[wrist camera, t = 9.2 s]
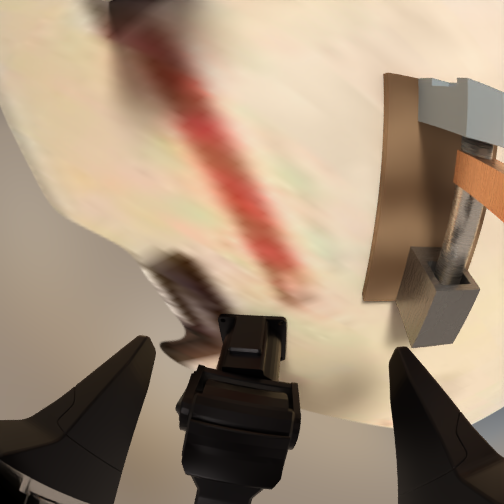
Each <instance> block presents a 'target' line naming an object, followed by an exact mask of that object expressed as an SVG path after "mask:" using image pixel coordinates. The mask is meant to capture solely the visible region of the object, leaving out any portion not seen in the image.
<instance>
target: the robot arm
mask: <svg viewBox="0 0 504 504" xmlns="http://www.w3.org/2000/svg"><path fill="white" fill-rule="evenodd" d="M218 322H219V327H220V332H221V337H222V341H223V346H222V350H221V354H220V357H219V361H218V365H217V369H211V368H207V367H205V366H203V365H199V366H198V368H197V371H194V373H193V374H191V377H190V380H189V383H188V386H187V388H186V390H185V392H184V393H183V395H182V397H181V398H180V400H179V401H178V403H177V405H176V411H177V413H178V414H179V421H180V424H179V425H180V426H179V427H180V430H184V431H186V434H185V440H184V445H183V451H182V465H183V468H184V471H185V473H186V474H187V475H190V476H191V477H192V479H193V481H194V483H195V485H196V487H197V494H196V498H195V503H194V504H251V501H252V498H253V497H254V496H256V495H257V494H258V493H259V492H261V491H262V490H263V489H272V488H274V487H275V485H276V484H277V483H278V482H279V481H280V479H281V476H282V470H283V466H284V462H285V459H286V455H287V452H288V450H292V449H293V448H294V446H295V444H296V442H297V439H298V435H299V430H300V424H301V423H300V422H301V413H300V402H299V392H298V383H293V382H291V383H286V382H279V381H278V378H279V367H280V361H283V360H284V359H285V348H286V319H285V318H284V317H275V316H251V315H233V314H221V315H219V318H218ZM155 355H156V351H155V348H154V346H153V343H152V342H151V339H150V338H149V337H148V336H142V335H139V336H137V337H136V338H135V339H134V340H132V341H131V342H130V343H128V344H127V345H126V346H125V347H123V348H122V349H121V350H120V351H118V352H117V353H116V354H115V355H113V356H112V357H111V358H110V359H108V360H107V361H106V362H105V363H103V364H102V365H101V366H100V367H98V368H97V369H96V370H95V371H93V372H92V373H91V374H90V375H88V376H87V377H86V378H85V379H83V380H82V381H81V382H80V383H78V384H77V385H76V387H73V388H72V389H71V390H70V391H68V392H67V393H66V394H64V395H63V396H62V397H61V398H59V399H58V400H56V401H55V402H53V403H52V404H50V405H49V406H47V407H46V408H44V409H43V410H41V411H39V412H38V413H36V414H35V415H33V416H31V417H29V418H27V419H22V420H0V504H114V500H115V497H116V493H117V488H118V485H119V481H120V478H121V474H122V470H123V467H124V463H125V460H126V456H127V453H128V450H129V446H130V443H131V440H132V436H133V433H134V430H135V427H136V424H137V421H138V417H139V414H140V411H141V408H142V405H143V402H144V399H145V396H146V393H147V390H148V387H149V383H150V378H151V373H152V369H153V365H154V360H155ZM389 379H390V403H391V411H392V419H393V427H394V436H395V447H396V458H397V475H398V504H504V457H502V456H501V455H499V454H498V453H497V452H496V451H495V450H494V449H493V448H492V447H491V446H490V445H489V444H488V443H487V441H486V440H485V439H484V438H483V437H482V436H481V435H480V434H479V433H478V432H477V431H476V430H475V429H474V427H473V426H472V425H471V424H470V423H469V421H468V420H467V419H466V418H465V416H464V415H463V414H462V412H460V410H459V409H458V407H457V406H456V405H455V404H454V402H453V401H452V400H451V399H450V397H449V396H448V395H447V394H446V392H445V391H444V390H443V389H442V388H441V386H440V385H439V384H438V383H437V381H436V380H435V379H434V378H433V377H432V375H431V374H430V373H429V372H428V371H427V369H426V368H425V367H424V366H423V365H422V364H421V362H420V361H419V360H418V359H417V358H416V357H415V355H414V354H413V353H412V352H411V351H410V350H409V348H407V347H397V348H396V349H395V350H394V352H393V355H392V357H391V359H390V361H389Z"/></svg>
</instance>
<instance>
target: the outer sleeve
mask: <svg viewBox="0 0 504 504" xmlns="http://www.w3.org/2000/svg"><path fill="white" fill-rule="evenodd" d="M441 248H442V247H417V246H410V250H409V254H408V258H407V262H406V266H405V269H404V273H403V277H402V280H401V284H400V287H399V290H398V294H397V297H396V300H395V301H396V304H397V306H398V309H399V312H400V315H401V317H402V320H403V323H404V326H405V329H406V332H407V335H408V338H409V342H410V345H411V348H418V347H427V346H436V345H444V344H452V343H453V342H454V340H455V338H456V337H457V335H458V333H459V331H460V329H461V328H462V326H463V324H464V322H465V320H466V318H467V316H468V314H469V312H470V310H471V308H472V306H473V304H474V302H475V300H476V298H477V295H478V293H479V291H480V288H479V286H478V285H477V283H476V282H475V281H474V279H473V278H472V276H471V275H470V273H469V272H468V271H467V269H466V268H465V270H464V272H463V275H462V278H461V280H460V283H459V285H440V283H439V282H438V280H437V278H436V277H435V275H434V271H435V268H436V265H437V261H438V258H439V255H440V251H441Z"/></svg>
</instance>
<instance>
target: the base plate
mask: <svg viewBox="0 0 504 504" xmlns="http://www.w3.org/2000/svg"><path fill="white" fill-rule="evenodd" d="M418 104H419V86H418V78H413V77H408V76H403V75H398V74H392V73H385V74H384V130H383V151H382V165H381V177H380V187H379V196H378V205H377V213H376V220H375V227H374V234H373V240H372V246H371V252H370V257H369V263H368V268H367V273H366V278H365V283H364V288H363V292H362V295H363V299H364V301H394V300H396V297H397V294H398V290H399V287H400V284H401V280H402V277H403V273H404V269H405V266H406V262H407V258H408V254H409V250H410V246H417V247H442V244H443V241H444V237H445V233H446V229H447V225H448V221H449V217H450V212H451V207H452V203H453V198H454V192H455V187H456V184H455V183H454V182H453V178H454V172H455V165H456V157H457V150H461V142H462V135H459V134H456V133H454V132H451V131H448V130H445V129H442V128H439V127H436V126H433V125H429V124H426V123H423V122H419V121H418ZM496 153H497V145H494V148H493V156H492V158H494V159H496ZM485 212H486V207H485V206H483V210H482V214H481V218H480V222H479V226H478V229H477V233H476V236H475V240H474V243H473V246H472V249H471V252H470V255H469V258H468V261H467V264H466V267H465V268H466V269H467V271H468V268H469V265H470V262H471V260H472V257H473V254H474V251H475V248H476V244H477V241H478V238H479V235H480V231H481V228H482V224H483V220H484V216H485Z"/></svg>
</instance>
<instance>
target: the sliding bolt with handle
mask: <svg viewBox="0 0 504 504" xmlns="http://www.w3.org/2000/svg"><path fill="white" fill-rule="evenodd" d="M493 148H494V145H493V144H490V143H487V142H483V141H479V140H476V139H472V138H468V137H464V136H462V142H461V150H457V157H456V165H455V172H454V178H453V182H454V183H455V184H456V187H455V192H454V198H453V203H452V207H451V212H450V217H449V221H448V225H447V229H446V233H445V237H444V241H443V244H442V248H441V251H440V255H439V258H438V261H437V265H436V268H435V271H434V275H435V277H436V278H437V280H438V282H439V283H440V285H459V283H460V280H461V278H462V275H463V272H464V270H465V267H466V264H467V261H468V258H469V255H470V252H471V249H472V246H473V243H474V240H475V236H476V233H477V229H478V226H479V222H480V218H481V214H482V210H483V206H485V207H486V208H487V209H489V210H490V211H491V212H492V213H493V214H495V215H496V216H497V217H498V218H499V219H500V220H502V221H503V222H504V163H502V162H500V161H498V160H496V159H494V158H492V156H493Z"/></svg>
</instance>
